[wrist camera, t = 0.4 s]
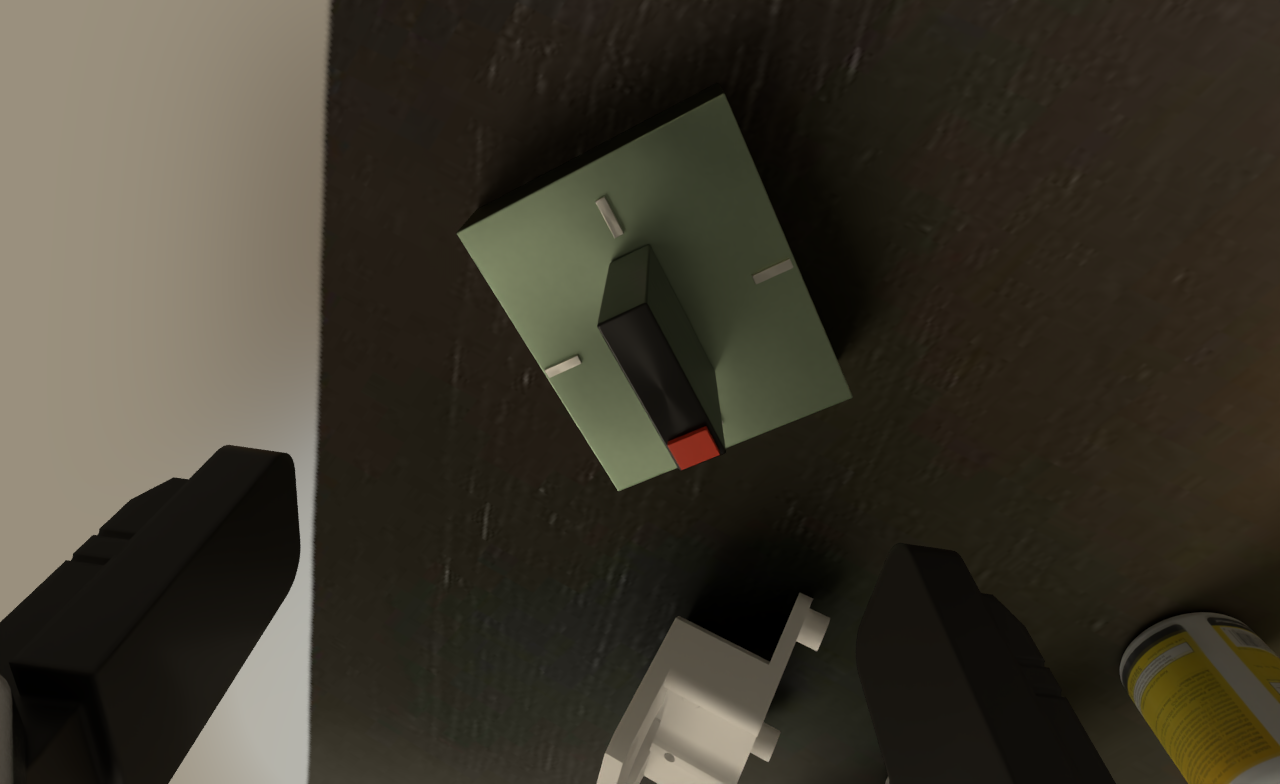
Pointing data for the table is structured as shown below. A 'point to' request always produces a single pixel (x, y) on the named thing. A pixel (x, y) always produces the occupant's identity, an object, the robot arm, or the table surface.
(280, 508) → the robot arm
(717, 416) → the red-tipped upright plate
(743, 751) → the mounting bracket
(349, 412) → the table surface
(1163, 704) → the pill bottle
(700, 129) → the lever switch base
